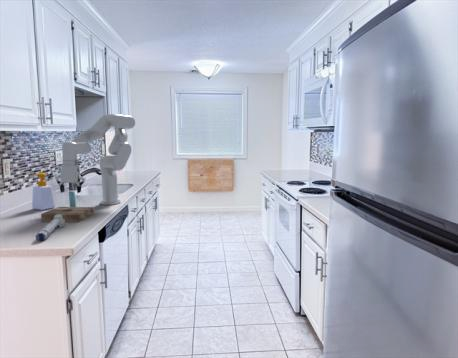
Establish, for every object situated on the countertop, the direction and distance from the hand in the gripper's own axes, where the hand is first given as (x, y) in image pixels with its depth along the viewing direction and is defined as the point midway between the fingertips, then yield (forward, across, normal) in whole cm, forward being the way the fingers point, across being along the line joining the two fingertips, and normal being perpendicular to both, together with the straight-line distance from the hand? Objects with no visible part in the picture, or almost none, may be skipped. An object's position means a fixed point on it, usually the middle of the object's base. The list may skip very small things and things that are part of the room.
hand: (70, 192), depth 187 cm
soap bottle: (+12, +22, -5) cm, 25 cm away
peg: (+12, 0, -1) cm, 12 cm away
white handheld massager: (+13, -12, +40) cm, 44 cm away
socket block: (+12, -6, +14) cm, 19 cm away
